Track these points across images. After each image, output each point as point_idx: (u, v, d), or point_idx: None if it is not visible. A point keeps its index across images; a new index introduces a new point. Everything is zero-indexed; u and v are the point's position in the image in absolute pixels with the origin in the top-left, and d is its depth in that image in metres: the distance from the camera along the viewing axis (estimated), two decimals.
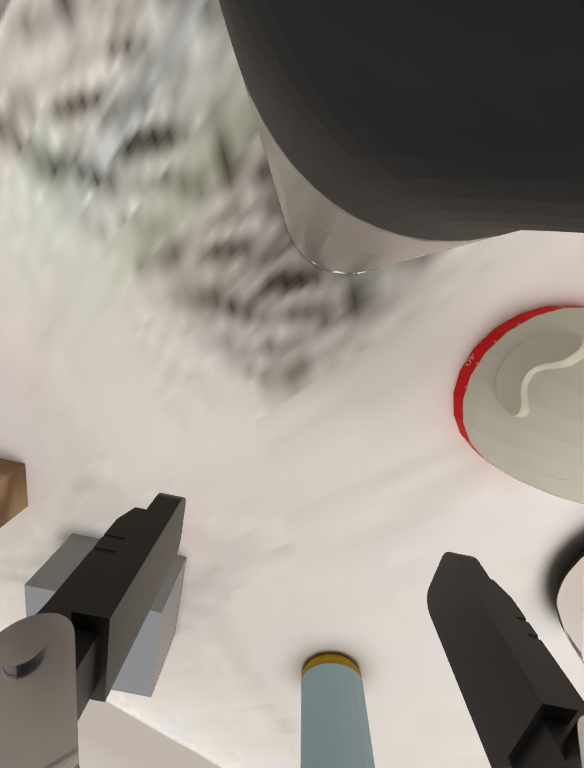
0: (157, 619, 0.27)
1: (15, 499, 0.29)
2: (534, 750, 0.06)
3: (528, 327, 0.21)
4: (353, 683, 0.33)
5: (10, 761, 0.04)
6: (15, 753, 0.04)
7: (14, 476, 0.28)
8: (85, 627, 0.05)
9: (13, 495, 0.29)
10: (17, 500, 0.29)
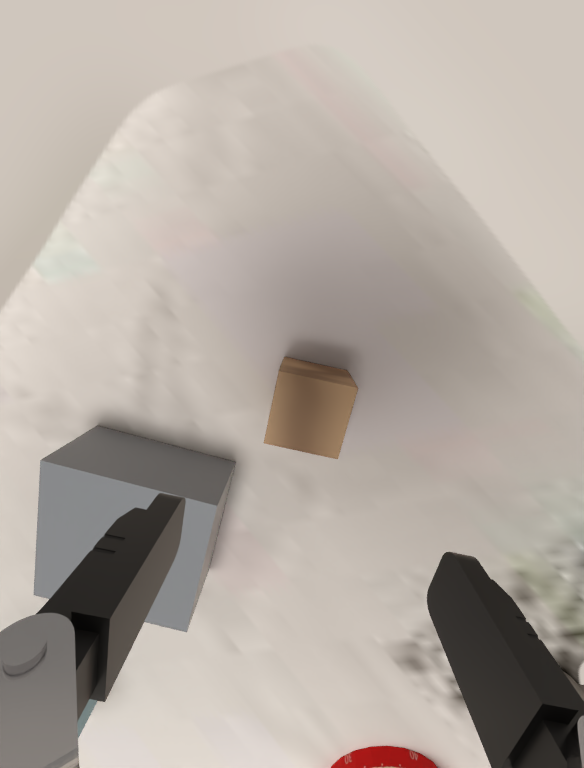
0: (175, 626, 0.24)
1: None
2: (534, 749, 0.06)
3: None
4: None
5: (11, 761, 0.04)
6: (16, 753, 0.04)
7: None
8: (85, 627, 0.05)
9: None
10: None
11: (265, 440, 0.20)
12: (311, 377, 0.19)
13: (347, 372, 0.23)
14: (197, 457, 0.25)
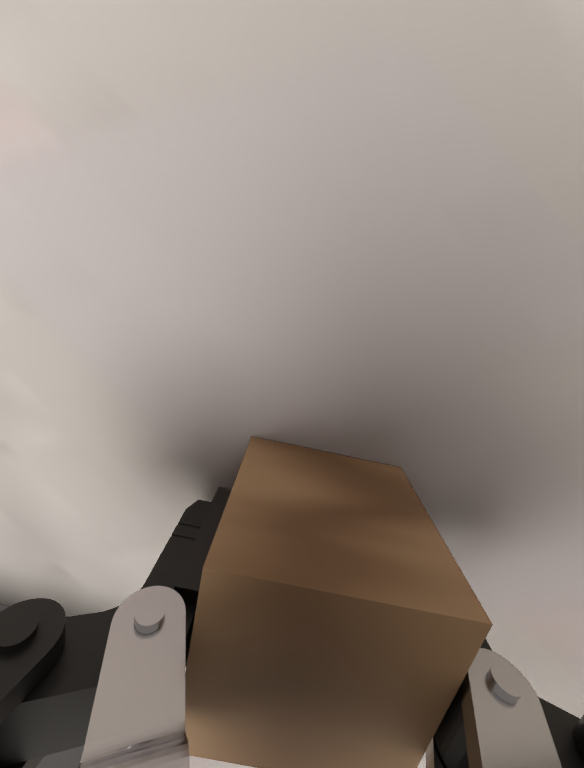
0: None
1: None
2: None
3: None
4: None
5: (136, 708, 0.04)
6: (166, 693, 0.04)
7: None
8: (186, 600, 0.06)
9: None
10: None
11: None
12: (323, 582, 0.05)
13: (406, 481, 0.09)
14: None
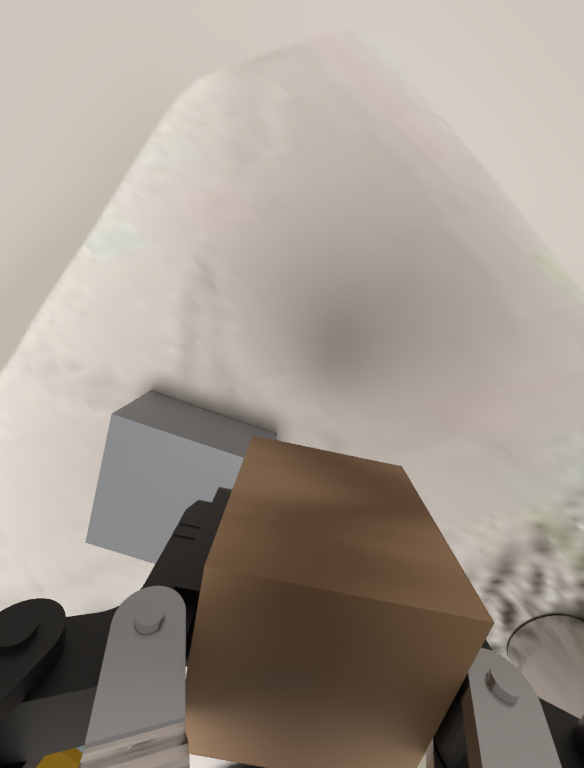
0: None
1: None
2: None
3: None
4: None
5: (136, 707, 0.04)
6: (166, 693, 0.04)
7: None
8: (186, 600, 0.06)
9: None
10: None
11: None
12: (324, 580, 0.05)
13: (407, 480, 0.09)
14: (243, 426, 0.27)
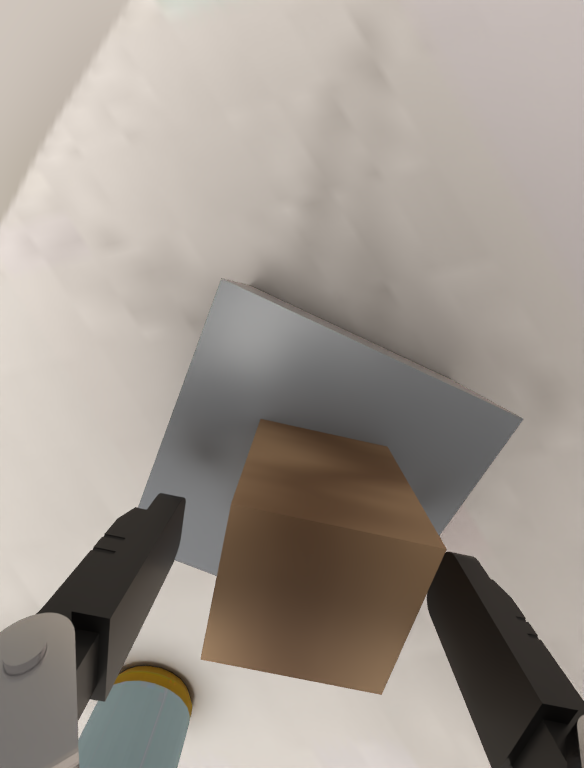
0: None
1: None
2: (533, 749, 0.06)
3: None
4: None
5: (10, 761, 0.04)
6: (15, 753, 0.04)
7: None
8: (85, 627, 0.05)
9: None
10: None
11: (204, 653, 0.08)
12: (320, 517, 0.07)
13: (390, 456, 0.11)
14: None
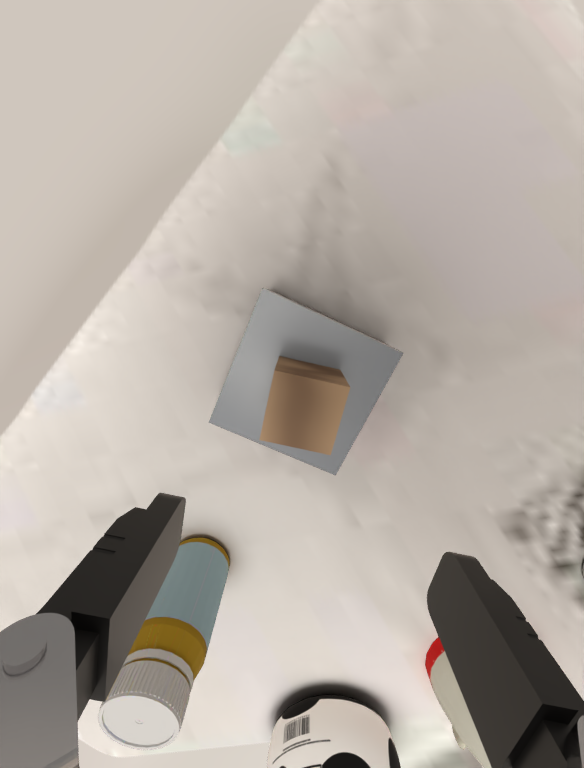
0: (327, 468, 0.27)
1: None
2: (533, 749, 0.06)
3: None
4: None
5: (10, 761, 0.04)
6: (15, 753, 0.04)
7: None
8: (85, 627, 0.05)
9: None
10: None
11: (261, 437, 0.21)
12: (305, 376, 0.20)
13: (340, 371, 0.24)
14: None
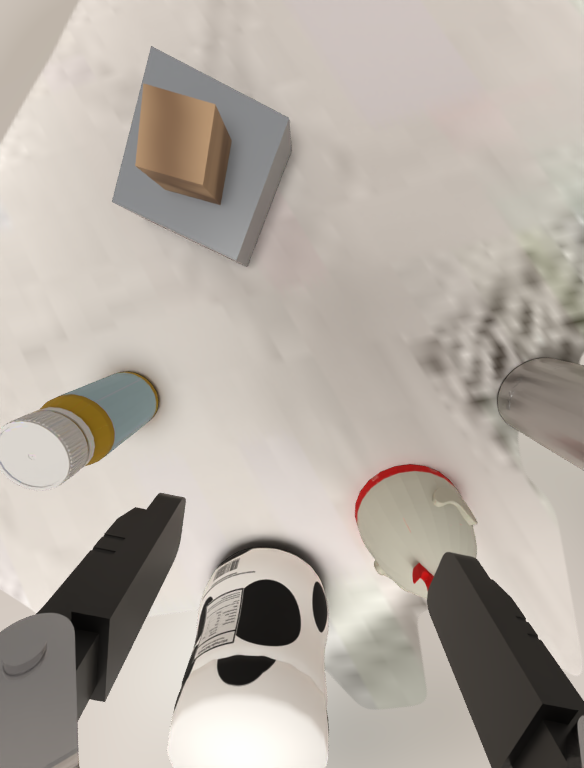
0: (228, 252, 0.28)
1: (179, 190, 0.26)
2: (534, 749, 0.06)
3: (461, 497, 0.38)
4: (146, 421, 0.36)
5: (11, 761, 0.04)
6: (15, 753, 0.04)
7: (209, 198, 0.26)
8: (85, 627, 0.05)
9: (185, 191, 0.25)
10: (176, 190, 0.26)
11: (136, 163, 0.22)
12: (174, 93, 0.21)
13: None
14: None
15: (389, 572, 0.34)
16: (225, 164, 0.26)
